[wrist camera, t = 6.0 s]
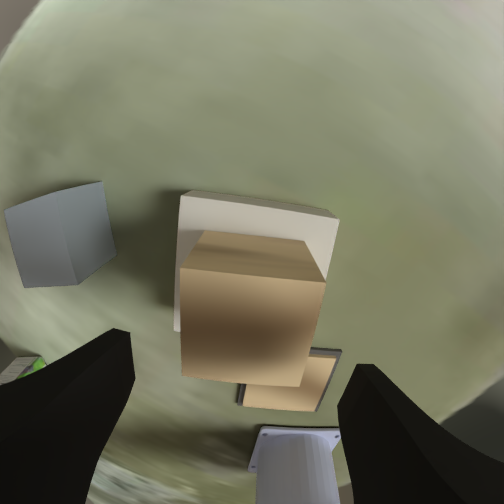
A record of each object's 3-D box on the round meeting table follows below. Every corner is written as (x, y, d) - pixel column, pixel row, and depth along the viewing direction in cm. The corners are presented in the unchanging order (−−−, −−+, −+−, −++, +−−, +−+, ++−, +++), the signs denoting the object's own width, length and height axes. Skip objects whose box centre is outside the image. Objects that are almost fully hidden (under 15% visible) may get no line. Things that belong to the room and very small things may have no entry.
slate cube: (117, 254, 18) (78, 284, 13) (65, 260, 18) (24, 287, 13) (103, 181, 16) (55, 191, 12) (50, 195, 17) (3, 209, 12)
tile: (316, 408, 22) (317, 414, 21) (237, 402, 22) (237, 408, 21) (341, 349, 19) (343, 354, 19) (248, 340, 19) (248, 345, 19)
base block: (300, 323, 19) (305, 349, 16) (185, 306, 19) (173, 330, 16) (326, 209, 17) (339, 219, 14) (194, 189, 17) (180, 195, 14)
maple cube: (288, 325, 16) (299, 386, 11) (201, 316, 16) (182, 375, 11) (304, 241, 14) (326, 282, 10) (204, 230, 14) (179, 267, 10)
